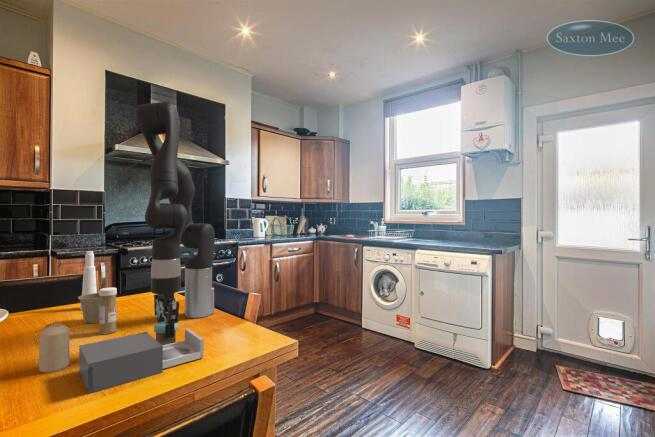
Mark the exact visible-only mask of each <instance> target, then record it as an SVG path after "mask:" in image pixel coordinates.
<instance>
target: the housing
mask: <svg viewBox="0 0 655 437" xmlns="http://www.w3.org/2000/svg"><path fill="white" fill-rule="evenodd" d="M78 350H79V353H78V354H79V356H78V357H79V359H78V360H79V362H78V365H79V366H78V367H79V370H78V371H79V374H80V377H81V379H82V382H83V386H84V388H85V389H86V392H87V394H93V393H96V392H101V391H103V390H106V389H110V388H114V387H117V386H120V385H124V384H127V383H131V382H134V381H137V380H138V381H139V380H140V379H145V378H148V377H152V376H155V375H158V374H161V373H162V374H163V373H164V372H163V371H164V369H163V346H162V345H161V344H160V343H159V342H158V341H156V338H154V336H152V335H151V334H150V333H149V332H148V331H143V332H139V333H134V334H130V335H125V336H124V335H123V336H120V337H113V338H109V339H105V340H100V341H95V342H90V343H84V344H81V345H80V344H79V349H78Z"/></svg>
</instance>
